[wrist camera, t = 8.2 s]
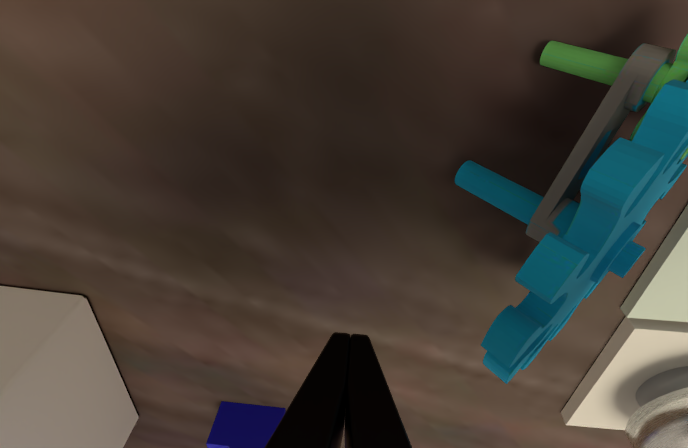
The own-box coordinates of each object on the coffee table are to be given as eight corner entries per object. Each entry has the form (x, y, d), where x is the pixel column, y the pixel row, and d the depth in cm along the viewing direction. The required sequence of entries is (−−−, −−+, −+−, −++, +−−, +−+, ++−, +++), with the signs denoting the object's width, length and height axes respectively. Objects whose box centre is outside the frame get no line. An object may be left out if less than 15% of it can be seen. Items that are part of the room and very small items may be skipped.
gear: (578, 339, 16) (474, 460, 9) (465, 261, 20) (325, 306, 13) (780, 81, 12) (883, -69, 5) (589, 38, 15) (480, -89, 8)
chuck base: (818, 330, 18) (871, 375, 16) (709, 425, 23) (739, 468, 21) (626, 315, 19) (654, 357, 17) (560, 412, 24) (577, 452, 22)
